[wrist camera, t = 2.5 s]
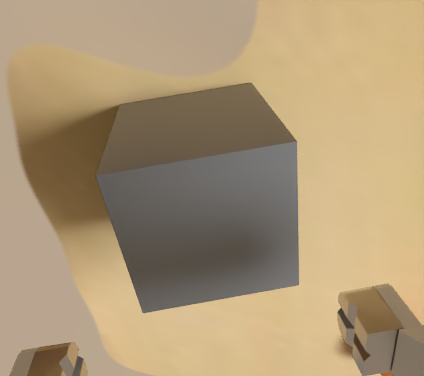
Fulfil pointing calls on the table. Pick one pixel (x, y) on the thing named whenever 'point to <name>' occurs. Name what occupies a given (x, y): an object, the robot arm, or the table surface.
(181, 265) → the grey rectangular prism
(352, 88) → the table surface
